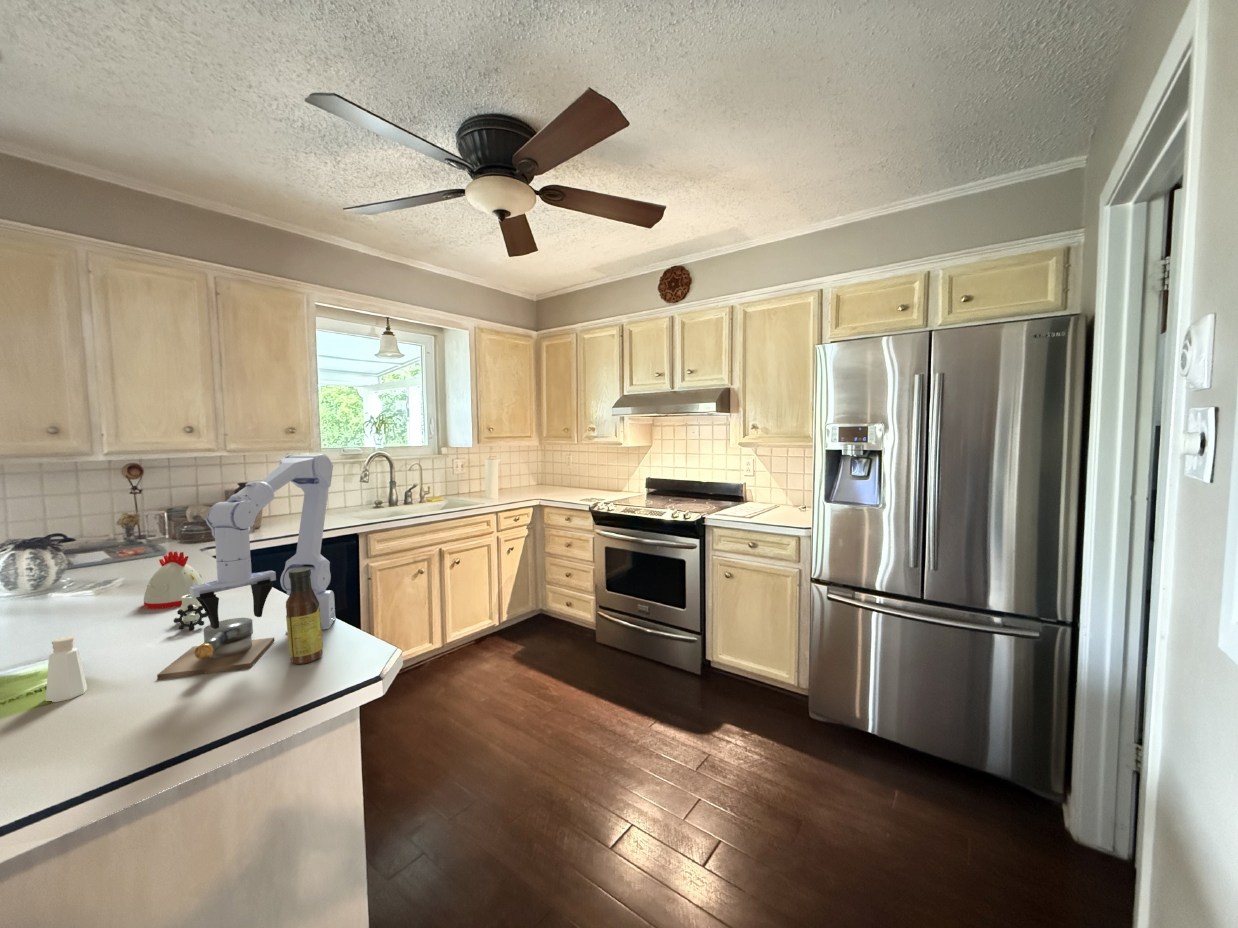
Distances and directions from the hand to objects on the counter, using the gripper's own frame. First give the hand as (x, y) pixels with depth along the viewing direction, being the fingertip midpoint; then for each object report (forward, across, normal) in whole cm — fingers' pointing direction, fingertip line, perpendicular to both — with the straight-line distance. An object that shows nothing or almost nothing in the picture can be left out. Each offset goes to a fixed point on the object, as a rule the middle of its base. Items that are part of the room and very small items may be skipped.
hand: (237, 621), depth 106 cm
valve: (+10, -3, -39) cm, 41 cm away
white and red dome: (+10, -7, -66) cm, 67 cm away
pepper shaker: (+10, +23, -13) cm, 28 cm away
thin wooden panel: (+10, +1, -7) cm, 12 cm away
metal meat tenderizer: (+6, +1, -5) cm, 8 cm away
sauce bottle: (+10, -9, +9) cm, 16 cm away
